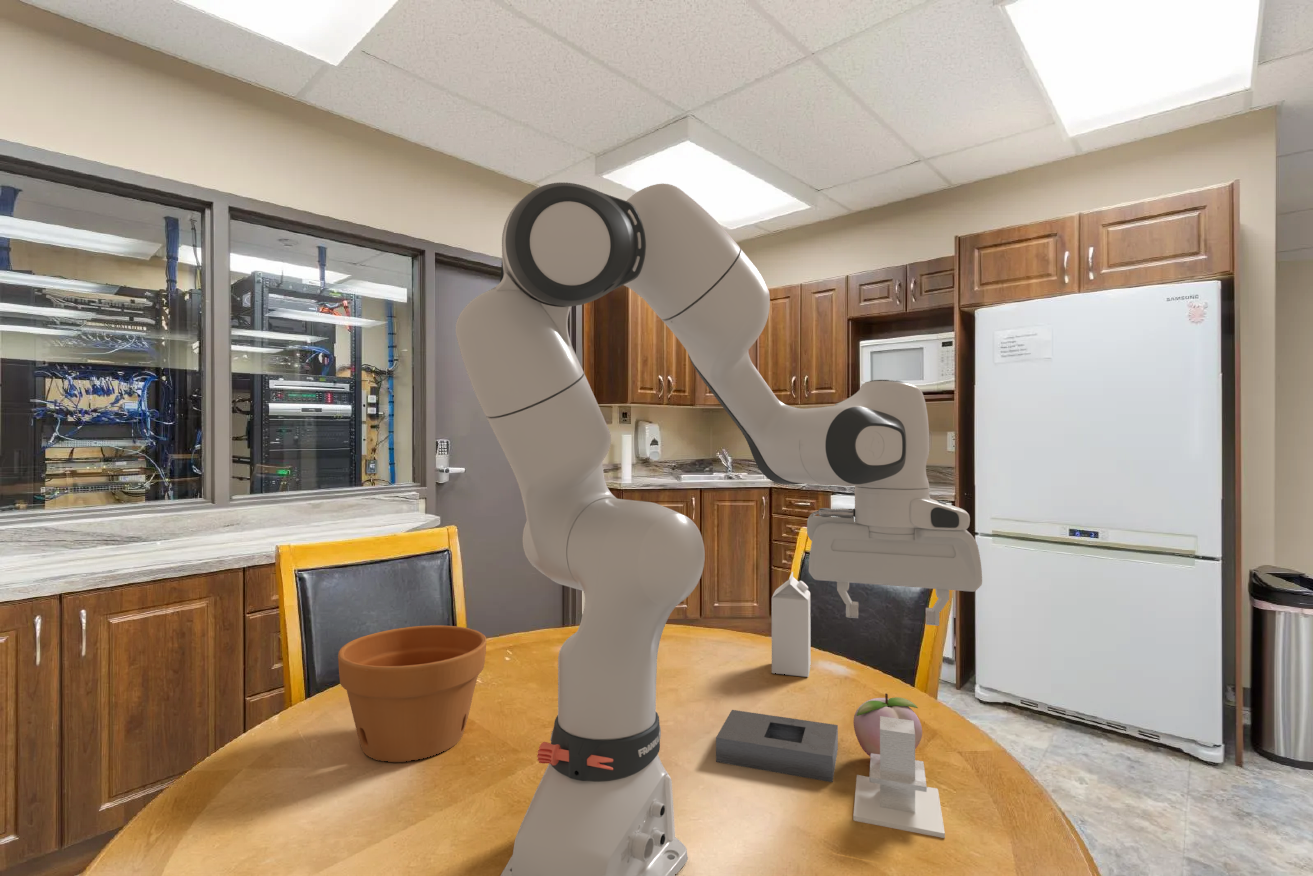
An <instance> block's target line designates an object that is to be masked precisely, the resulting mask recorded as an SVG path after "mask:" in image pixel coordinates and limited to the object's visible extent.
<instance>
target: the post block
mask: <svg viewBox="0 0 1313 876" xmlns="http://www.w3.org/2000/svg"><path fill="white" fill-rule="evenodd" d="M838 729H839V727H838V724H834V723H833V724H832V723H826V722H825V723H824V722H819V721H811V720H805V719H798V718H791V717H784V716H778V715H777V716H776V715H772V714H764V713H757V712H751V711H743V710H736V709H731V710H730V712H729V714H728V716H727V718H726V719H725V722H723V725H722V726H721V728H720V730H719V732H718V733H717V735H716V737H715V762H716V763H720V764H727V765H733V766H736V767H737V766H739V767H742V768H743V767H744V768H748V769H755V770H759V771H766V772H772V773H777V774H783V775H788V776H794V777H800V778H806V779H812V780H816V781H817V780H818V781H822V782H829V783H833V782H834V776H835V771H836V770H835V769H836V763H837V756H838V750H839V748H838V747H839V743H838V742H839V740H838V739H839V733H838V732H839V730H838Z"/></svg>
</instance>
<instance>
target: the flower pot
mask: <svg viewBox="0 0 1313 876" xmlns="http://www.w3.org/2000/svg"><path fill="white" fill-rule="evenodd" d="M486 651H487V637H486V635H485V634H483V633H482V632H480V631H478V630H477V629H472V628H469V627H464V626H454V625H443V624H442V625H437V624H436V625H435V624H434V625H418V626H417V625H414V626H406V627H399V628H392V629H388V630H383V631H378V632H375V633H371V634H368V635H364V636H360V637H358V638H355V639H353V640H351V641H348V642H347V643H345V644H344V645H343V646H342V647H340V649H339V650H338V652H337V653H338V655H337V660H338V661H337V662H338V676H339V684H340V686H341V688H343V689H344V690H345V691H346V692H347V693H346V694H347V696H348V702H349V705H350V708H351V714H352V718H353V722H354V726H355V730H356V733H357V737H358V741H359V744H360V748H361V750H362V753H363V754H364V755H366V756H367V755H368V756H369V757H368V756H367V757H368V758H370V757H371V758H370V759H372V758H373V759H372V760H375V759H376V761H379V760H381V761H380V762H384V761H388V762H387V763H404V762H406V761H407V762H412V761H411V760H415V761H419V760H418V759H420V760H424V759H428V758H430V756H431V757H434V756H436V754H437V755H439V753H440V754H442V753H443V751H444V752H445V751H448V750H450V749H451V748H454V746H455V745H457V743H458V742H460V740H461V739H462V738H463V735H464V733H465V729H466V727H467V722H468V719H469V715H470V710H471V705H472V700H473V697H474V693H475V688H476V685H477V680H478V677H479V675H480V674H481V673H482V671H483V670H484V668H485V663H486V654H487V652H486ZM449 748H450V749H449ZM441 752H442V753H441ZM433 755H434V756H433ZM427 757H428V758H427ZM423 758H424V759H423Z"/></svg>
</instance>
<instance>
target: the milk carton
mask: <svg viewBox="0 0 1313 876" xmlns="http://www.w3.org/2000/svg"><path fill="white" fill-rule="evenodd" d="M811 637H812V636H811V592H810V590H809V586H808V585H807V584H806V583H805V582H804V581H803V580H799V581H798V579H796V578H795V577H794V571H791V574H790V575H789V578H788V579H787V580H786V581H785V582H784V583H783V584H781V585H780V586H778V587H777V588H776V589H775V590H774V592H773V594H772V596H771V673H772V674H775V673H776V674H777V675H784V674H785V676H795V677H805V678H808V677H809V676H810V670H811V666H810V665H811V661H812V659H811V657H812V656H811V651H812V650H811V641H812V639H811Z"/></svg>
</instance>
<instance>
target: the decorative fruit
mask: <svg viewBox="0 0 1313 876" xmlns="http://www.w3.org/2000/svg"><path fill="white" fill-rule="evenodd" d="M888 697H889V694H888V693H884V697H876V698H875V697H874V698H871V699H868V700H866V701H864V702H863V703H861V705H859V706H858V707H857V709H856V711H855V713H854V716H853V728H854V729H853V731H854V733H855V734H854V735H855V736H856V738H857V741H858V743H859V745H860V747H861V748H862V751H863V752H864V753H865V754H866V755H868V756H869V757H871V753H873V754H879V755H880V716H883V717H890V718H897V719H905V720H912V721H914V729H915V750H917V747H918V746H919V744H920V743H921V740H922V737H923V729H922V728H923V727H922V723H921V720H920V718H919V717H918V715H917V714H916V712H914V710H913V709H912V708H914V709H919V707H918V706H917V705H916V704H915V703H914V702H913V701H911V700H909V699H907V698H904V697H899V696H898V697H897V696H896V697H891V698H888Z"/></svg>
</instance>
